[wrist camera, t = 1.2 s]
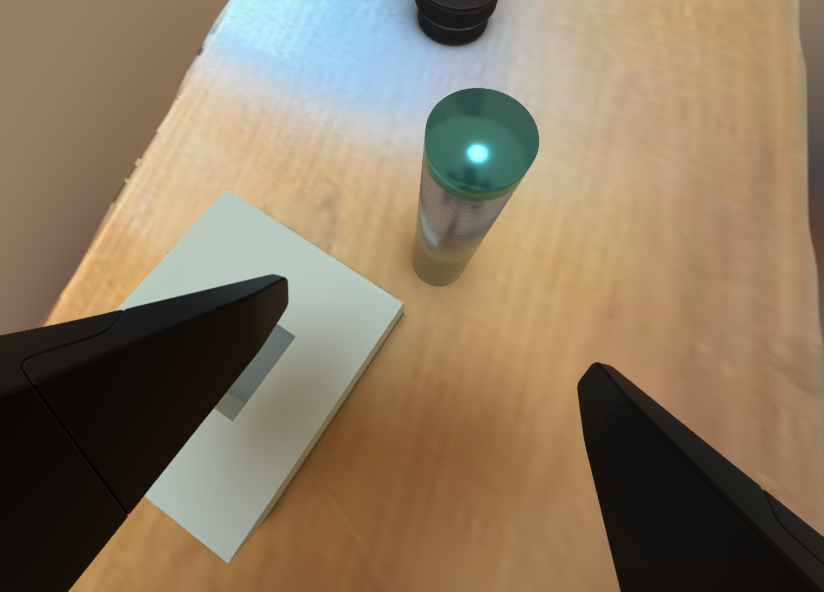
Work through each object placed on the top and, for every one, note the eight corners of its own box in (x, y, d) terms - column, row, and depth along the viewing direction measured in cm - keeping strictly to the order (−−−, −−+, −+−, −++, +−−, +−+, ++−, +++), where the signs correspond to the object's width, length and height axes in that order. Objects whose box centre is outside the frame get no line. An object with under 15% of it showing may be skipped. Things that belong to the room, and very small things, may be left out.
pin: (447, 295, 22) (504, 206, 10) (403, 268, 23) (403, 147, 10) (473, 254, 23) (558, 122, 10) (430, 228, 23) (462, 70, 11)
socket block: (264, 521, 19) (227, 563, 15) (103, 395, 20) (30, 403, 16) (403, 313, 22) (403, 303, 18) (256, 218, 23) (226, 189, 19)
